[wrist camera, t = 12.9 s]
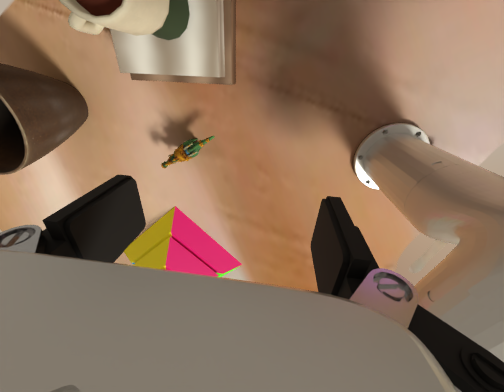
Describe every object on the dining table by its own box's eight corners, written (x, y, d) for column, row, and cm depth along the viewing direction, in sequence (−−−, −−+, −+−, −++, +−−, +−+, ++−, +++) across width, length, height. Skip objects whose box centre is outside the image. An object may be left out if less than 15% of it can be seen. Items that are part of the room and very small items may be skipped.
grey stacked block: (235, -53, 28) (223, -94, 21) (235, 83, 36) (226, 85, 29) (120, -54, 29) (72, -93, 22) (144, 79, 37) (115, 80, 30)
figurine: (168, 151, 44) (147, 165, 36) (216, 122, 40) (203, 132, 33) (177, 163, 45) (159, 180, 38) (224, 137, 41) (214, 150, 34)
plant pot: (124, 125, 42) (50, 150, 28) (74, 154, 46) (-12, 189, 32) (64, 40, 36) (-70, 19, 22) (12, 83, 40) (-128, 89, 26)
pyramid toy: (121, 248, 60) (82, 293, 48) (176, 201, 50) (144, 243, 38) (188, 295, 68) (168, 344, 56) (245, 263, 59) (238, 313, 46)
